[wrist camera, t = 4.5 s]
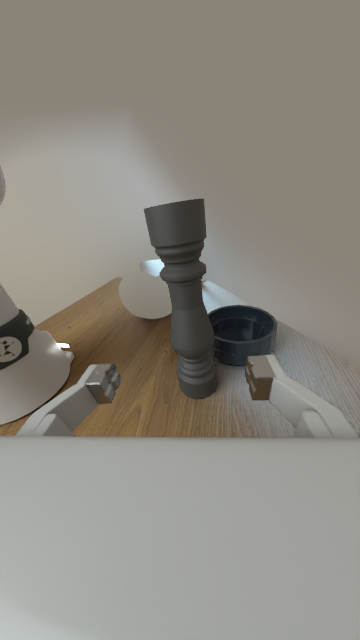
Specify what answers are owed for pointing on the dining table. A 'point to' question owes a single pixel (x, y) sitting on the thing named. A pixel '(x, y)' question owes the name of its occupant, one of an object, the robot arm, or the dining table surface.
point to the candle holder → (185, 290)
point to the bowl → (241, 333)
